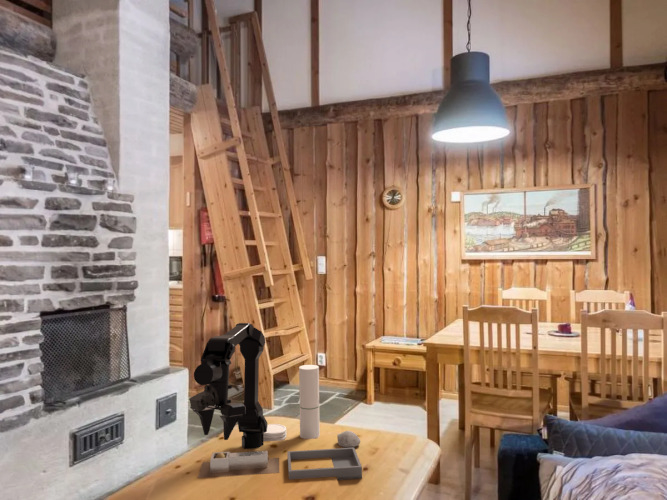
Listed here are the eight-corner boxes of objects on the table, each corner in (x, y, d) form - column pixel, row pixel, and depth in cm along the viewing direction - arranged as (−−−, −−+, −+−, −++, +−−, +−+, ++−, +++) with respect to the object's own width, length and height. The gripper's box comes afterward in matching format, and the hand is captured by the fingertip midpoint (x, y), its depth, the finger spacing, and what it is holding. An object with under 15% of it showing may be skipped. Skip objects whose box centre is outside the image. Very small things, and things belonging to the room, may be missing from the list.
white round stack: (258, 434, 190) (258, 424, 190) (285, 431, 192) (285, 422, 192) (259, 444, 180) (259, 434, 180) (287, 442, 182) (287, 432, 182)
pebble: (333, 448, 176) (333, 433, 176) (340, 439, 183) (339, 425, 183) (357, 450, 173) (357, 436, 173) (363, 441, 181) (363, 427, 181)
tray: (354, 458, 167) (354, 447, 167) (362, 478, 152) (361, 466, 152) (287, 462, 164) (287, 451, 164) (288, 483, 150) (288, 471, 150)
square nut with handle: (267, 461, 162) (267, 449, 162) (267, 469, 157) (267, 456, 157) (212, 465, 160) (212, 452, 160) (210, 472, 155) (210, 459, 155)
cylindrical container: (320, 432, 190) (319, 364, 190) (318, 439, 183) (317, 369, 183) (301, 431, 191) (300, 364, 191) (298, 439, 184) (297, 369, 184)
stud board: (279, 461, 165) (278, 443, 165) (279, 476, 154) (279, 457, 154) (202, 466, 162) (202, 447, 162) (197, 481, 151) (197, 462, 151)
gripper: (176, 380, 149) (172, 436, 147) (215, 386, 137) (212, 447, 135) (208, 378, 158) (205, 431, 155) (247, 383, 146) (245, 441, 143)
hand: (215, 437), depth 147 cm, fingers open, 9 cm apart
